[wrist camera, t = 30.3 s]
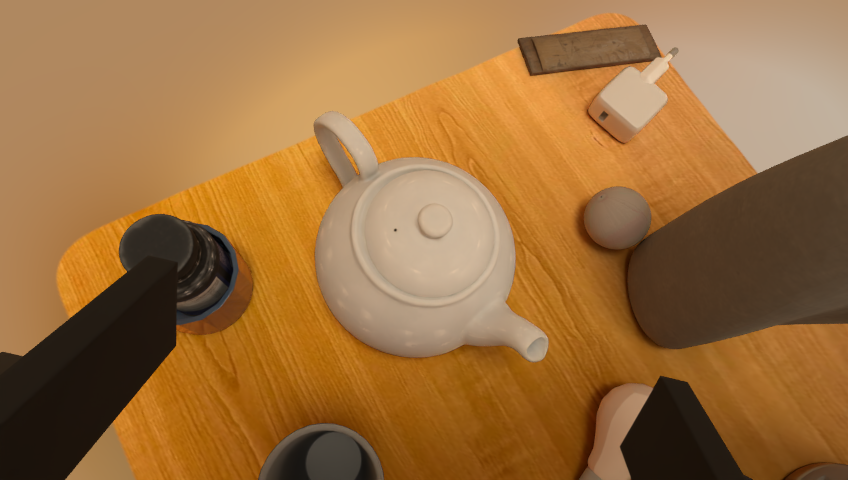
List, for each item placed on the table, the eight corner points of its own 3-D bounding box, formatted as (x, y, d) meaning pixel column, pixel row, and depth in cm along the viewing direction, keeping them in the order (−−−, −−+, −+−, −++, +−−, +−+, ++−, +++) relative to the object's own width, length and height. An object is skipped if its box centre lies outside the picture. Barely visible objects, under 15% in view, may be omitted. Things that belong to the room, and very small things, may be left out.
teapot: (507, 186, 51) (558, 112, 38) (504, 373, 45) (563, 360, 32) (322, 164, 49) (309, 78, 36) (293, 355, 43) (265, 334, 30)
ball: (593, 242, 52) (619, 272, 47) (563, 203, 50) (586, 231, 44) (643, 206, 51) (675, 234, 46) (614, 165, 48) (644, 189, 43)
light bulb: (630, 545, 37) (710, 421, 38) (554, 485, 39) (631, 368, 39) (615, 515, 43) (684, 410, 44) (550, 465, 45) (617, 365, 46)
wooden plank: (658, 62, 59) (642, 29, 60) (664, 54, 57) (648, 21, 59) (529, 75, 55) (516, 40, 57) (533, 68, 54) (519, 32, 56)
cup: (322, 526, 39) (302, 596, 25) (274, 453, 40) (229, 479, 26) (392, 468, 41) (409, 502, 27) (344, 399, 42) (338, 397, 28)
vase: (670, 388, 46) (1170, 363, 18) (580, 285, 48) (899, 114, 20) (747, 308, 49) (1266, 180, 21) (660, 215, 52) (1028, -14, 23)
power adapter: (682, 88, 57) (642, 55, 58) (707, 63, 52) (664, 27, 53) (620, 150, 54) (580, 115, 55) (641, 129, 50) (597, 91, 51)
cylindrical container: (262, 252, 45) (248, 231, 40) (241, 340, 43) (223, 331, 37) (172, 239, 45) (145, 215, 39) (145, 327, 42) (112, 316, 36)
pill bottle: (175, 246, 44) (119, 198, 34) (246, 253, 45) (212, 206, 34) (160, 316, 42) (95, 287, 32) (234, 321, 43) (194, 294, 32)
